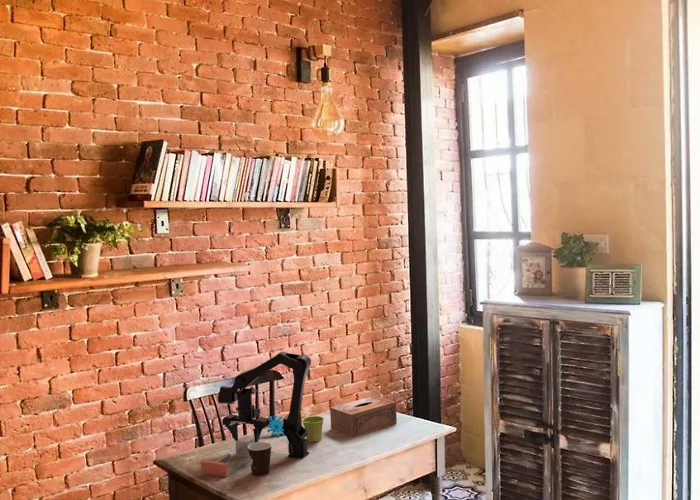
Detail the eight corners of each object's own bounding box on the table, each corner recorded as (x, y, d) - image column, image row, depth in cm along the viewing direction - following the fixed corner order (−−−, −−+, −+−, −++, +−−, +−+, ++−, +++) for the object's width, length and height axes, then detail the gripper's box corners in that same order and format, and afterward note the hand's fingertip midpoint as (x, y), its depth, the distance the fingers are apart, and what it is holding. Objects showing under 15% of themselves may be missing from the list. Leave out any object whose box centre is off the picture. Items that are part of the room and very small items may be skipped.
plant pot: (298, 442, 272) (297, 421, 272) (308, 435, 281) (307, 415, 281) (319, 444, 269) (318, 423, 268) (328, 437, 278) (327, 416, 277)
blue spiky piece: (267, 435, 278) (264, 414, 284) (264, 442, 282) (261, 421, 288) (292, 434, 282) (289, 413, 288) (288, 441, 286) (285, 420, 292)
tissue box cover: (375, 416, 304) (374, 395, 303) (396, 423, 292) (395, 401, 292) (331, 430, 287) (330, 407, 287) (351, 438, 276) (351, 414, 276)
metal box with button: (258, 450, 265) (257, 436, 264) (248, 457, 258) (247, 442, 257) (246, 449, 267) (245, 434, 267) (236, 455, 260) (235, 440, 260)
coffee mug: (249, 469, 246) (248, 442, 245) (272, 467, 246) (271, 441, 246) (247, 481, 234) (246, 454, 233) (271, 479, 235) (270, 452, 234)
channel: (251, 459, 255) (251, 448, 255) (226, 476, 239) (225, 464, 238) (227, 456, 259) (227, 445, 259) (201, 473, 243) (200, 461, 243)
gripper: (275, 400, 265) (277, 438, 266) (235, 396, 272) (237, 433, 273) (261, 408, 254) (263, 447, 255) (220, 404, 262) (222, 442, 263)
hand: (246, 442), depth 262 cm, fingers open, 9 cm apart
